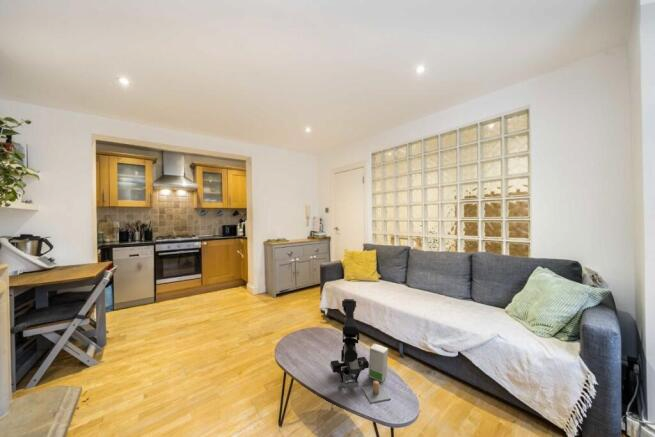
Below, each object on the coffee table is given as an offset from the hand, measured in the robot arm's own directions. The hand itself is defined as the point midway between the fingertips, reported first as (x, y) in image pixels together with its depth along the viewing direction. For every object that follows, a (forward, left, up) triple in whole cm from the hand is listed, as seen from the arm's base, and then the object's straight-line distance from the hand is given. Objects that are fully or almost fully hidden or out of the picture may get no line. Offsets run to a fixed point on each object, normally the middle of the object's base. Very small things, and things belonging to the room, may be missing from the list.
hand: (349, 381), depth 124 cm
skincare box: (-5, +18, -3) cm, 19 cm away
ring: (0, 0, -1) cm, 1 cm away
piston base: (+7, +11, -3) cm, 14 cm away
